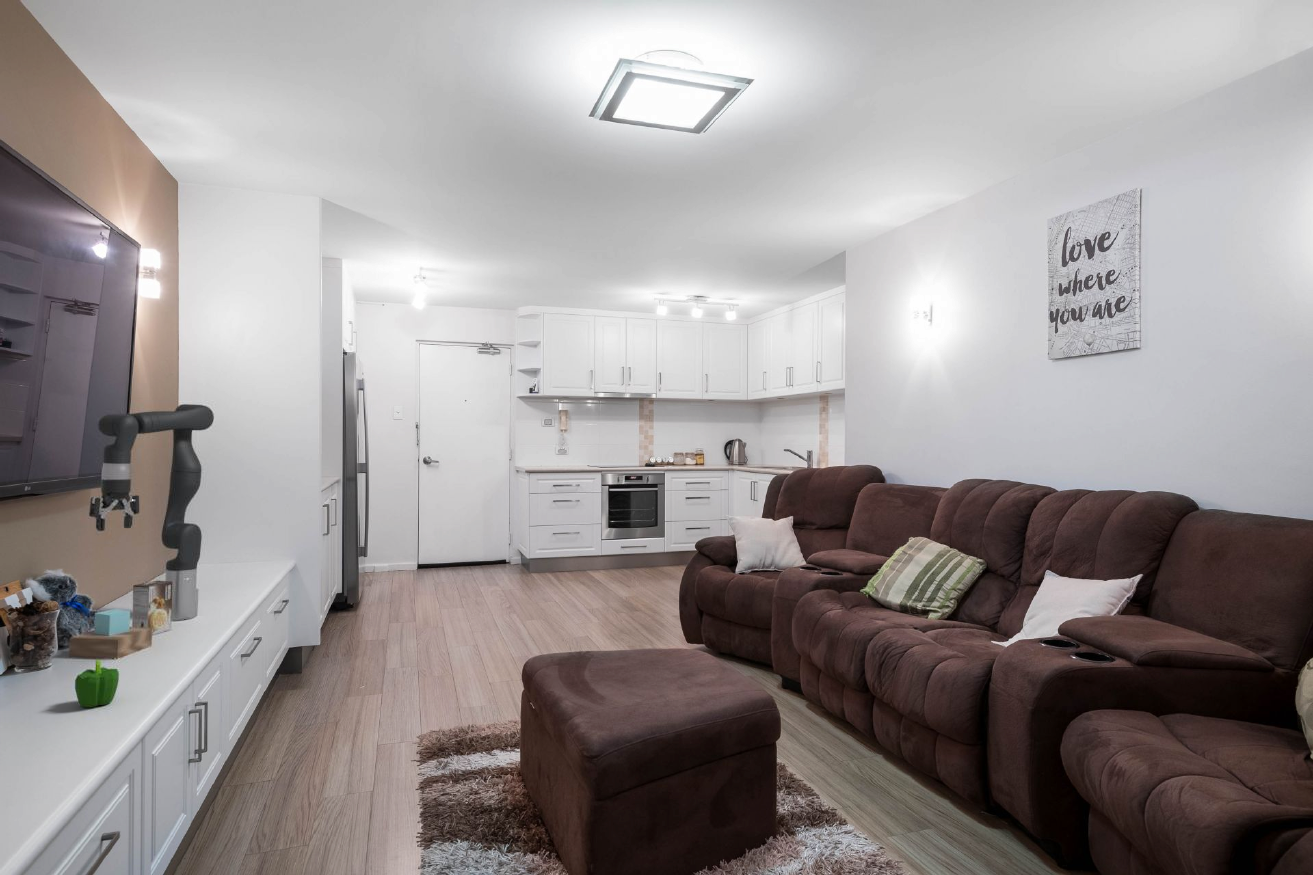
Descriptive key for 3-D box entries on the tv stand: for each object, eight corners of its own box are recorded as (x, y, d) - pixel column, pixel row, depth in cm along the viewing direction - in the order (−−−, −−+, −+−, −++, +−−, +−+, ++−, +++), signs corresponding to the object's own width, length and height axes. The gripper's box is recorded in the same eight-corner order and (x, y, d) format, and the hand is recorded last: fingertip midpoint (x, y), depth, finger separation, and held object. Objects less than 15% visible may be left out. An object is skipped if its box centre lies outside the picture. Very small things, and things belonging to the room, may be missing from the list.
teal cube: (114, 629, 223) (115, 609, 223) (129, 631, 221) (130, 611, 221) (93, 633, 217) (94, 613, 217) (109, 635, 215) (110, 615, 215)
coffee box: (155, 628, 246) (157, 579, 246) (171, 629, 245) (173, 581, 245) (130, 635, 237) (132, 584, 237) (147, 636, 236) (149, 586, 236)
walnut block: (105, 645, 226) (106, 625, 226) (151, 647, 226) (152, 627, 226) (68, 658, 212) (69, 637, 212) (117, 660, 212) (118, 639, 212)
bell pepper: (109, 709, 174) (111, 666, 174) (68, 711, 172) (70, 668, 172) (124, 697, 182) (125, 656, 182) (84, 699, 180) (86, 658, 180)
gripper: (129, 476, 241) (126, 526, 241) (84, 478, 227) (82, 530, 227) (146, 477, 239) (144, 527, 239) (102, 479, 225) (100, 532, 225)
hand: (114, 529), depth 233 cm, fingers open, 8 cm apart
